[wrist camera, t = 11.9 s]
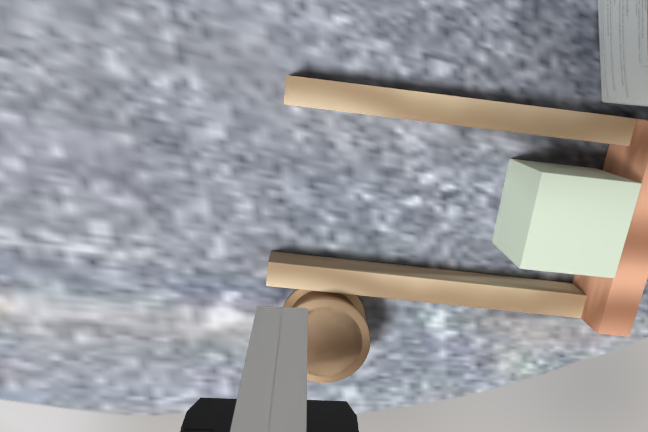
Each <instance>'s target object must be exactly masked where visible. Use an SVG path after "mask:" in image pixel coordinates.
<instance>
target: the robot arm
mask: <svg viewBox="0 0 648 432" xmlns="http://www.w3.org/2000/svg"><path fill="white" fill-rule="evenodd" d="M307 326H308V308H291V307H268V306H257V309H256V313H255V318H254V323H253V327H252V332H251V336H250V341H249V346H248V350H247V355H246V360H245V364H244V369H243V374H242V378H241V383H240V387H239V392H238V397H237V399H221V398H200V399H199V400H198V401H197V402H196V403H195V404H194V405H193V406H192V407H191V408H190V409H189V410H188V411H187V413H186V415H185V419H184V421H183V424H182V427H181V432H359V430H358V422H357V416H356V414H355V413H354V411H353V410H352V409H351V407H350V406H349V404H348V403H347V402H346V401H320V400H307Z"/></svg>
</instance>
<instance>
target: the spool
mask: <svg viewBox="0 0 648 432" xmlns="http://www.w3.org/2000/svg"><path fill="white" fill-rule="evenodd" d="M283 307H291V308H308V326H307V380H308V381H312V382H318V383H330V382H335V381H339V380H342V379H344V378H346V377H348V376H350V375H351V374H353V373H354V372H355V371H357V370H358V369H359V368H360V367H361V365H362V364H363V363H364V361H365V359H366V357H367V355H368V352H369V348H370V334H369V329H368V326H367V323H366V316H365V311H364V307H363V305H362V302H361V301H360V299H359V297H358V296H357V295H351V294H341V293H332V292H322V291H312V290H303V289H296V290H295V291H294V292H293V293H292V294H291V295H290V296H289V297H288V299H287V300H286V302H285V304H284V306H283Z"/></svg>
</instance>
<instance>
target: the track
mask: <svg viewBox="0 0 648 432" xmlns="http://www.w3.org/2000/svg"><path fill="white" fill-rule="evenodd" d="M284 104H286V105H294V106H302V107H310V108H319V109H327V110H335V111H343V112H352V113H360V114H368V115H376V116H384V117H393V118H401V119H409V120H417V121H426V122H434V123H442V124H450V125H459V126H467V127H475V128H483V129H491V130H500V131H508V132H516V133H524V134H533V135H541V136H549V137H557V138H566V139H574V140H582V141H590V142H598V143H607V144H609V147H608V151H607V155H606V159H605V162H604V166H603V170H602V171H605V172H608V173H611V174H614V175H618V176H621V177H624V178H627V179H630V180H633V181H636V182H639V183H642V185H641V188H640V192H639V195H638V199H637V202H636V206H635V209H634V213H633V216H632V220H631V223H630V227H629V230H628V233H627V237H626V240H625V244H624V247H623V251H622V254H621V258H620V261H619V265H618V268H617V272H616V275H615V278H606V277H596V276H587V275H577V274H574V277H573V281H572V283H566V282H557V281H547V280H538V279H529V278H519V277H510V276H500V275H491V274H482V273H472V272H463V271H453V270H444V269H435V268H425V267H416V266H407V265H397V264H388V263H378V262H369V261H360V260H350V259H341V258H331V257H322V256H313V255H303V254H294V253H284V252H275V251H271V253H270V257H269V262H268V271H267V282H266V286H273V287H283V288H293V289H303V290H312V291H322V292H332V293H341V294H351V295H361V296H371V297H380V298H390V299H400V300H409V301H419V302H429V303H439V304H448V305H458V306H468V307H477V308H487V309H497V310H507V311H516V312H526V313H536V314H545V315H555V316H565V317H575V318H581V319H582V320H583V321H585V322H586V323H587V324H588V325H589V326H590V327H591V328H592V329H593V330H594V331H596V332H597V333H599V334H609V335H619V336H628V337H629V335H630V332H631V329H632V326H633V323H634V319H635V316H636V313H637V310H638V307H639V303H640V300H641V297H642V294H643V291H644V287H645V284H646V281H647V278H648V120H644V119H636V118H628V117H620V116H612V115H604V114H596V113H588V112H580V111H572V110H564V109H556V108H548V107H540V106H532V105H524V104H516V103H508V102H500V101H492V100H484V99H476V98H468V97H459V96H451V95H443V94H435V93H427V92H419V91H411V90H403V89H395V88H387V87H379V86H371V85H363V84H355V83H347V82H339V81H331V80H323V79H315V78H307V77H299V76H291V75H286V86H285V96H284Z"/></svg>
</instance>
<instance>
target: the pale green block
mask: <svg viewBox="0 0 648 432" xmlns="http://www.w3.org/2000/svg"><path fill="white" fill-rule="evenodd" d="M641 185H642V183H639V182H636V181H633V180H630V179H627V178H624V177H621V176H618V175H614V174H611V173H608V172H605V171H602V170H599V169H596V168H589V167H580V166H571V165H562V164H554V163H545V162H536V161H527V160H518V159H510V160H509V165H508V170H507V174H506V179H505V184H504V188H503V193H502V198H501V202H500V207H499V212H498V216H497V221H496V226H495V230H494V235H493V240H492V243H493V244H494V245H495V246H496V247H497V248H498V249H499V250H501V251H502V252H503V253H504V254H505V255H506V256H507V257H508V258H509V259H510V260H511V261H512V262H513V263H514V264H515V265H517V266H518V267H519V268H520V269H528V270H538V271H548V272H557V273H567V274H577V275H587V276H596V277H606V278H615V275H616V272H617V268H618V265H619V261H620V258H621V254H622V251H623V247H624V244H625V240H626V237H627V233H628V230H629V227H630V223H631V220H632V216H633V213H634V209H635V206H636V202H637V199H638V195H639V192H640V188H641Z"/></svg>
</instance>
